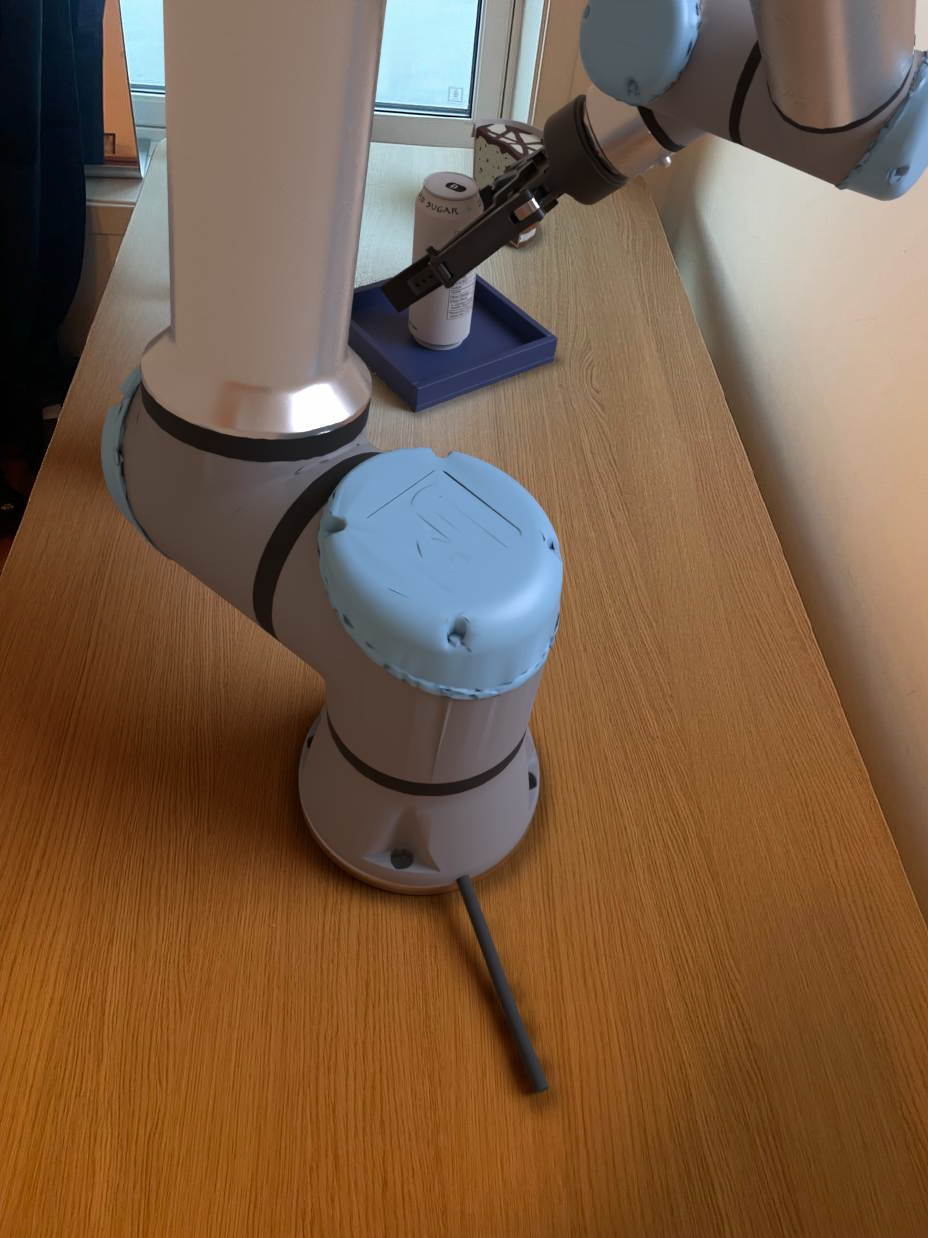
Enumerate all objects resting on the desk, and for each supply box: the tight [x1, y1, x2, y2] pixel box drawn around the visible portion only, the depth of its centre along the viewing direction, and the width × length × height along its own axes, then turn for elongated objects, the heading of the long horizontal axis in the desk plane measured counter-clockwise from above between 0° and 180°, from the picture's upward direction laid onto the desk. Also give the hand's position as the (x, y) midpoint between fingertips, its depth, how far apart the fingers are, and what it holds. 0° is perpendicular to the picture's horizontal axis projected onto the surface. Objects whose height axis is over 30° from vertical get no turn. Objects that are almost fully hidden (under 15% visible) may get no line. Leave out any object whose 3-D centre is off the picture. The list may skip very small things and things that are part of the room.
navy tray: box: [348, 273, 559, 413], centre depth 92 cm, size 17×17×3 cm
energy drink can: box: [408, 170, 484, 350], centre depth 87 cm, size 6×6×15 cm
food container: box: [470, 117, 544, 249], centre depth 106 cm, size 12×6×10 cm, turn 34°
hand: (419, 264), depth 87 cm, fingers open, 13 cm apart
